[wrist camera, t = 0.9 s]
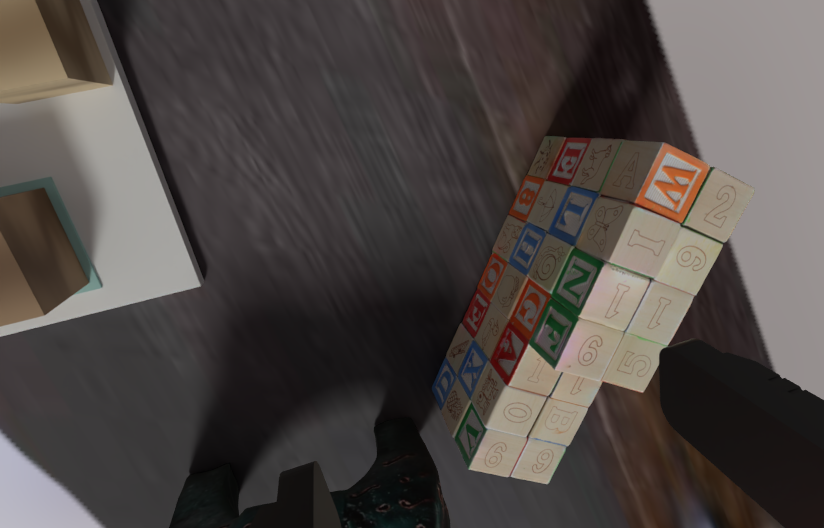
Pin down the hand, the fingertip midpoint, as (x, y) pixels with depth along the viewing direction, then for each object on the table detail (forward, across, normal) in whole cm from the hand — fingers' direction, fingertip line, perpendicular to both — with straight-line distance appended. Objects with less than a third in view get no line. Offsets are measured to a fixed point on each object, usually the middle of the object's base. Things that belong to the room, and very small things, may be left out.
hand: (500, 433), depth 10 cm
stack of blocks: (+23, -10, +8) cm, 27 cm away
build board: (+23, +18, -8) cm, 31 cm away
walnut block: (+22, +21, -4) cm, 31 cm away
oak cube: (+22, +15, -14) cm, 30 cm away
